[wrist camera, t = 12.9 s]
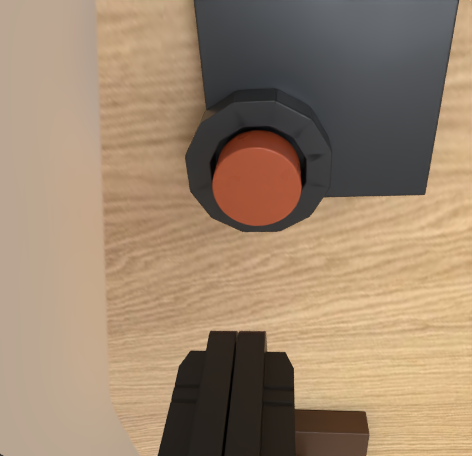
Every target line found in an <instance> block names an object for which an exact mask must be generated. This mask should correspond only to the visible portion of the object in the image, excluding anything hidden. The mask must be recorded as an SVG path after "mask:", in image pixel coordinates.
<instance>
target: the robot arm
mask: <svg viewBox="0 0 472 456" xmlns="http://www.w3.org/2000/svg"><path fill="white" fill-rule="evenodd" d="M171 399H172V401H171V403H170V407H169V411H168V415H167V419H166V424H165V428H164V432H163V436H162V440H161V444H160V449H159V453H158V456H296V450H295V406H294V368H293V366H292V364H291V362H290V360H289V358H288V356H287V354H286V353H285V352H267V340H266V331H239V333H238V332H237V331H210V333H209V338H208V343H207V348H206V351H190V352H189V354H188V355H187V356H186V358H185V359H184V360H183V362H182V363H181V364H180V366H179V369H178V373H177V378H176V382H175V388H174V390H173V394H172V398H171Z"/></svg>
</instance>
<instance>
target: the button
mask: <svg viewBox="0 0 472 456" xmlns="http://www.w3.org/2000/svg"><path fill="white" fill-rule="evenodd" d="M212 189H213V194H214V197H215V200H216V202H217V204H218V205H219V207H220V208H221V209H222V211H223V212H224V213H225V214H227V215H228V216H229V217H230V218H232V219H234V220H236V221H237V222H240V223H243V224H246V225H252V226H264V225H269V224H273V223H276V222H278V221H280V220H282V219H283V218H285V217H286V216H287V215H289V214H290V213H291V212H292V211H293V209H294V208H295V207H296V205H297V203H298V201H299V199H300V195H301V189H302V185H301V171H300V162H299V158H298V155H297V153H296V151H295V149H294V148H293V146H292V145H291V144H290V143H289V142H288V141H287V140H286V139H284V138H283V137H281V136H279V135H277V134H275V133H273V132H269V131H263V130H253V131H248V132H244V133H241V134H239V135H237V136H235V137H234V138H232V139H231V140H230V141H229V142H228V143H227V144H226V145H225V146H224V148H223V149H222V151H221V153H220V155H219V158H218V162H217V165H216V169H215V173H214V176H213V182H212Z"/></svg>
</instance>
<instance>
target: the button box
mask: <svg viewBox="0 0 472 456" xmlns="http://www.w3.org/2000/svg"><path fill="white" fill-rule="evenodd" d="M458 4H459V0H194V7H195V15H196V24H197V33H198V42H199V51H200V59H201V68H202V77H203V86H204V95H205V103H206V112H205V113H204V115H203V117H202V119H201V121H200V124H199V126H198V128H197V130H196V132H195V135H194V137H193V139H192V141H191V144H190V146H189V148H188V150H187V153H186V155H185V156H186V157H185V160H186V167H187V174H188V181H189V187H190V192H191V193H192V194H193V195H194V197H195V198H196V199H197V200H198V202H199V203H200V204H201V205H202V207H203V208H204V209H205V210H206V212H207V213H208V214H209V215H210V217H211V218H213V219H215V220H218V221H220V222H222V223H224V224H227V225H229V226H231V227H233V228H235V229H238V230H240V231H242V232H278V231H282V230H284V229H286V228H288V227H290V226H292V225H294V224H296V223H298V222H300V221H302V220H304V219H306V218H308V217H310V215H311V214H312V213H313V212H314V210H315V209H316V207H317V206H318V204H319V203H320V202H321V200H322V199H323V197H357V196H401V195H425V193H426V187H427V181H428V175H429V170H430V164H431V158H432V153H433V147H434V141H435V135H436V130H437V124H438V118H439V112H440V107H441V101H442V95H443V90H444V84H445V78H446V72H447V67H448V61H449V55H450V50H451V44H452V38H453V32H454V27H455V21H456V15H457V10H458ZM253 130H263V131H269V132H273V133H275V134H277V135H279V136H281V137H283V138H284V139H286V140H287V141H288V142H289V143H290V144H291V145H292V146H293V148H294V149H295V151H296V153H297V155H298V158H299V162H300V171H301V185H302V189H301V195H300V199H299V201H298V203H297V205H296V207H295V208H294V209H293V211H292V212H291V213H290V214H289V215H287V216H286V217H285V218H283V219H282V220H280V221H278V222H276V223H273V224H269V225H264V226H252V225H246V224H243V223H240V222H237V221H236V220H234V219H232V218H230V217H229V216H228V215H227V214H225V213H224V212H223V211H222V209H221V208H220V207H219V205H218V204H217V202H216V200H215V197H214V194H213V189H212V182H213V176H214V173H215V169H216V165H217V162H218V158H219V155H220V153H221V151H222V149H223V148H224V146H225V145H226V144H227V143H228V142H229V141H230V140H231V139H232V138H234V137H235V136H237V135H239V134H241V133H244V132H248V131H253Z"/></svg>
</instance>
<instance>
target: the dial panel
mask: <svg viewBox="0 0 472 456" xmlns="http://www.w3.org/2000/svg"><path fill="white" fill-rule="evenodd" d="M368 440H369V429H368V423H367V417H366V412H346V411H312V410H295V450H296V456H366V454H367V447H368Z"/></svg>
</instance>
